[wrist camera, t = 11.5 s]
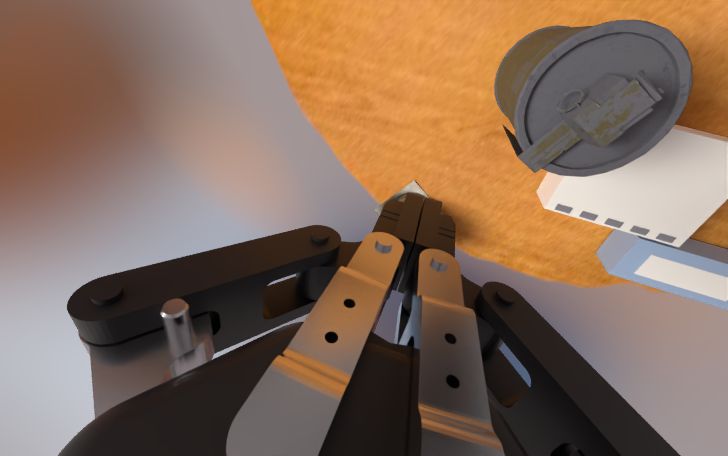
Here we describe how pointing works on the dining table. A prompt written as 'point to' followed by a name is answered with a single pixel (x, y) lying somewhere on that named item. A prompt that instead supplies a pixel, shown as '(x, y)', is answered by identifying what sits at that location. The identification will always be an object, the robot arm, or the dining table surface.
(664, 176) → the white box
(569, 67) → the canister
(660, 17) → the dining table surface
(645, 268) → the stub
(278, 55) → the dining table surface
